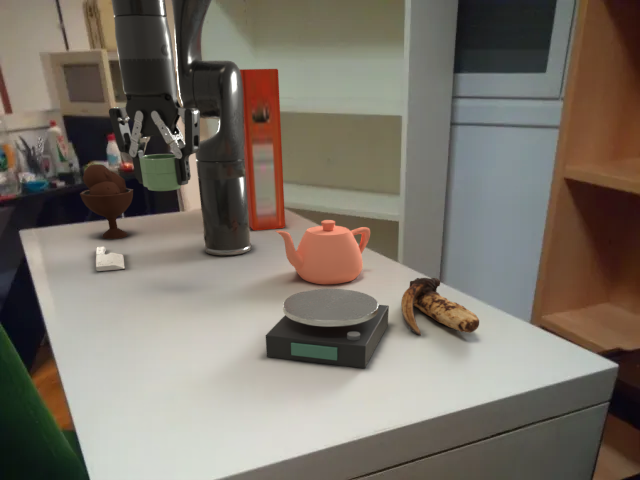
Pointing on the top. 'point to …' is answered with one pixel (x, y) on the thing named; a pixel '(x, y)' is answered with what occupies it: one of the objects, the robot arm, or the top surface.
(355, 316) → the scale pan
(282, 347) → the scale
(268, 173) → the file binder
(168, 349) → the top surface
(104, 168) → the ice cream bowl
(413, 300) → the partly peeled banana
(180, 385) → the top surface
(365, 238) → the teapot
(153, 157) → the green cup
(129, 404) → the top surface
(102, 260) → the white slab with peg
